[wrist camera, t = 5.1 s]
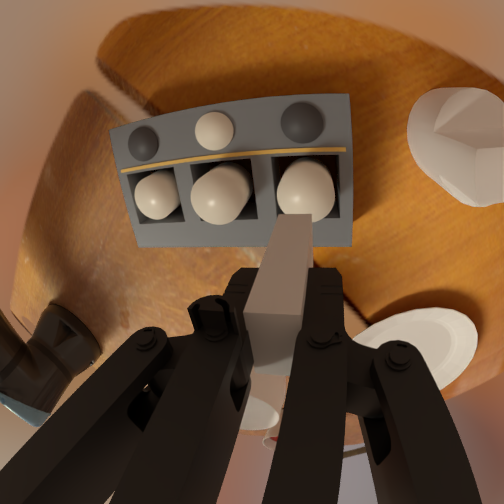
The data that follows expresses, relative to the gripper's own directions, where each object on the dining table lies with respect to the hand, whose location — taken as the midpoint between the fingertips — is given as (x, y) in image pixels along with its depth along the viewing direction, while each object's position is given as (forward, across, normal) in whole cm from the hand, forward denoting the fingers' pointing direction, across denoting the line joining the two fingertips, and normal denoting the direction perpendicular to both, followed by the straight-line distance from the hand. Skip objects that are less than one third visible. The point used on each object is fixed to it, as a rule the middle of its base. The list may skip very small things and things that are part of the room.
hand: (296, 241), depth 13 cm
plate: (+13, +13, -24) cm, 31 cm away
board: (+13, -6, +1) cm, 14 cm away
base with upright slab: (+13, +14, +4) cm, 19 cm away
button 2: (+11, -6, 0) cm, 12 cm away
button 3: (+11, 0, 0) cm, 11 cm away
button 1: (+12, -13, 0) cm, 18 cm away
